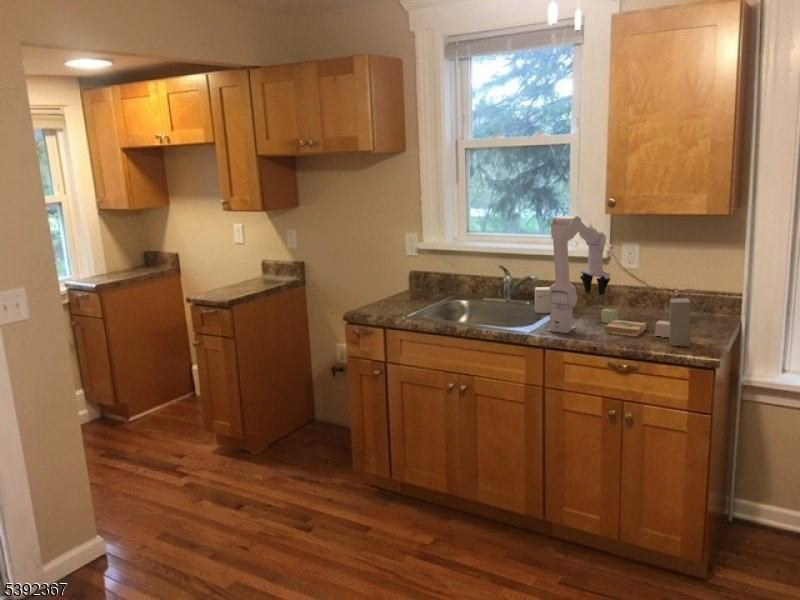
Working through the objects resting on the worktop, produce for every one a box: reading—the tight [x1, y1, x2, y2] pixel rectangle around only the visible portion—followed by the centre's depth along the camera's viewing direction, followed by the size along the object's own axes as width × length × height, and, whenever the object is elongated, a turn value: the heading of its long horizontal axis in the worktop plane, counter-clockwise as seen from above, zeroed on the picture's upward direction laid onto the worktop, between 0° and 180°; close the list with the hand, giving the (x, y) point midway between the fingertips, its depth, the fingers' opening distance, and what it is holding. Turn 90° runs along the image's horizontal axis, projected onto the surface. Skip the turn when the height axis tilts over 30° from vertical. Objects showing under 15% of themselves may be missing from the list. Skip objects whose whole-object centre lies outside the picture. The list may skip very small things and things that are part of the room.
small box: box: [534, 286, 553, 314], centre depth 282 cm, size 8×6×10 cm
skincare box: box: [668, 297, 691, 348], centre depth 227 cm, size 8×7×16 cm
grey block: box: [654, 320, 670, 338], centre depth 239 cm, size 5×5×5 cm
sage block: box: [600, 307, 619, 324], centre depth 261 cm, size 5×5×5 cm
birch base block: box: [604, 319, 647, 337], centre depth 247 cm, size 12×12×3 cm
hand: (594, 293), depth 270 cm, fingers open, 7 cm apart
